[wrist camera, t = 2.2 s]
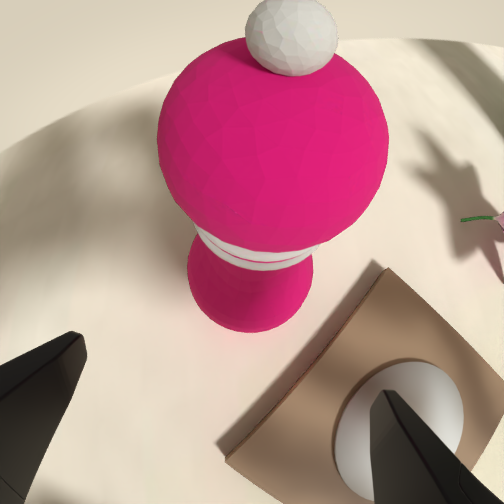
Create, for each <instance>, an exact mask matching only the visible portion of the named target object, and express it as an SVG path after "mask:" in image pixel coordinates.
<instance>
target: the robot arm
mask: <svg viewBox="0 0 504 504" xmlns="http://www.w3.org/2000/svg"><path fill="white" fill-rule="evenodd" d="M86 360H87V350H86V346H85V341H84V337H83V335H82V334H80V333H77V332H74V331H69V332H67V333H65V334H63V335H61V336H59V337H57V338H55V339H53V340H51V341H49V342H47V343H45V344H43V345H41V346H39V347H37V348H35V349H32V350H30V351H28V352H26V353H24V354H22V355H20V356H18V357H16V358H14V359H12V360H10V361H8V362H6V363H4V364H2V365H0V504H24V502H25V499H26V497H27V494H28V492H29V489H30V487H31V484H32V482H33V480H34V477H35V475H36V473H37V470H38V468H39V466H40V464H41V461H42V459H43V457H44V455H45V453H46V450H47V448H48V446H49V444H50V442H51V440H52V438H53V435H54V433H55V431H56V429H57V427H58V425H59V423H60V421H61V419H62V417H63V415H64V413H65V411H66V409H67V407H68V405H69V403H70V401H71V399H72V396H73V394H74V391H75V388H76V386H77V383H78V381H79V378H80V375H81V373H82V370H83V368H84V365H85V363H86ZM370 461H371V471H372V482H373V493H374V504H504V503H503V502H502V501H501V500H500V499H499V498H498V497H497V496H495V495H494V494H493V493H492V492H491V491H490V490H489V489H488V488H486V487H485V486H484V485H483V484H482V483H481V482H480V481H479V480H478V479H477V478H476V477H475V476H474V475H473V474H472V473H471V472H470V471H469V470H468V469H467V467H466V466H465V465H464V464H463V463H461V461H460V460H459V459H458V458H457V457H456V456H455V454H454V453H453V452H452V451H451V450H450V449H449V448H448V447H447V446H446V445H445V444H444V442H443V441H442V440H441V439H440V438H439V437H438V436H437V435H436V434H435V433H434V432H433V430H432V429H431V428H430V427H429V426H428V425H427V424H426V423H425V422H424V421H423V420H422V419H421V417H420V416H419V415H418V414H417V413H416V412H415V411H414V410H413V409H412V408H411V407H410V406H409V405H408V403H407V402H406V401H405V400H404V399H403V398H402V397H401V396H400V395H399V394H398V393H397V392H396V391H395V390H393V389H383V390H381V391H380V392H379V394H378V396H377V397H376V399H375V400H374V402H373V404H372V405H371V408H370Z"/></svg>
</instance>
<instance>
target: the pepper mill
mask: <svg viewBox="0 0 504 504" xmlns="http://www.w3.org/2000/svg"><path fill="white" fill-rule="evenodd" d="M245 36H246V37H244V38H239V39H235V40H232V41H228V42H225V43H222V44H220V45H219V46H217V47H214V48H212V49H211V50H209V51H207V52H205V53H203V54H202V55H200V56H199V57H198V58H196V59H195V60H194V61H192V62H191V63H190V64H189V65H188V66H187V67H186V68H185V69H184V70H183V71H182V72H181V74H180V75H179V76H178V77H177V78H176V79H175V81H174V83H173V85H172V86H171V88H170V90H169V92H168V94H167V96H166V98H165V100H164V102H163V106H162V109H161V113H160V117H159V122H158V133H157V144H158V154H159V164H160V167H161V170H162V173H163V175H164V178H165V181H166V183H167V186H168V189H169V190H170V192H171V194H172V196H173V198H174V200H175V202H176V203H177V204H178V205H179V206H180V207H181V208H182V209H183V211H184V212H185V213H186V214H187V215H188V216H189V217H190V218H191V219H192V220H193V223H194V226H195V228H196V230H197V232H198V234H197V235H196V237H195V239H194V241H193V244H192V246H191V249H190V253H189V256H188V264H187V270H188V280H189V285H190V289H191V292H192V295H193V297H194V299H195V301H196V303H197V304H198V306H199V307H200V309H201V310H202V311H203V312H204V313H205V314H206V315H207V316H208V317H209V318H210V319H211V320H213V321H214V322H216V323H217V324H219V325H221V326H223V327H225V328H227V329H230V330H233V331H238V332H245V333H256V332H262V331H267V330H270V329H273V328H275V327H278V326H279V325H281V324H283V323H285V322H286V321H287V320H289V319H290V318H291V317H292V316H293V315H294V314H295V313H296V312H297V311H298V310H299V308H300V307H301V305H302V303H303V302H304V300H305V298H306V297H307V295H308V292H309V290H310V287H311V283H312V277H313V260H312V253H313V252H314V251H315V250H316V249H317V248H318V246H319V245H320V244H321V243H324V242H327V241H329V240H331V239H332V238H333V237H335V236H336V235H338V234H339V233H341V232H342V231H344V230H345V229H347V228H348V227H349V226H351V225H352V224H353V223H354V222H355V221H356V220H357V219H358V218H359V217H360V216H361V215H362V213H363V212H364V211H365V210H366V208H367V207H368V206H369V204H370V202H371V201H372V199H373V197H374V196H375V194H376V192H377V190H378V189H379V187H380V184H381V181H382V178H383V175H384V171H385V168H386V164H387V156H388V145H389V133H388V126H387V122H386V119H385V116H384V113H383V110H382V107H381V104H380V101H379V99H378V97H377V95H376V94H375V92H374V91H373V89H372V87H371V86H370V84H369V83H368V81H367V80H366V79H365V78H364V77H363V76H362V75H361V74H360V73H359V72H358V71H357V70H356V69H355V68H354V67H353V66H352V65H351V64H349V63H348V62H347V61H346V60H344V59H343V58H342V57H340V56H338V55H337V54H335V53H334V52H335V50H336V48H337V46H338V32H337V26H336V23H335V20H334V19H333V17H332V15H331V13H330V12H329V11H328V10H327V9H326V7H325V6H323V5H322V4H320V3H319V2H317V1H316V0H264V1H263V2H261V3H259V5H258V6H257V7H256V8H255V10H254V11H253V12H252V13H251V14H250V15H249V18H248V20H247V24H246V27H245Z"/></svg>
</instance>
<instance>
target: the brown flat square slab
mask: <svg viewBox="0 0 504 504" xmlns="http://www.w3.org/2000/svg"><path fill="white" fill-rule="evenodd" d="M383 389H393V390H395V391H396V392H397V393H398V394H399V395H400V396H401V397H402V398H403V399H404V400H405V401H406V402H407V403H408V405H409V406H410V407H411V408H412V409H413V410H414V411H415V412H416V413H417V414H418V415H419V416H420V417H421V419H422V420H423V421H424V422H425V423H426V424H427V425H428V426H429V427H430V428H431V429H432V430H433V432H434V433H435V434H436V435H437V436H438V437H439V438H440V439H441V440H442V441H443V442H444V444H445V445H446V446H447V447H448V448H449V449H450V450H451V451H452V452H453V453H454V454H455V456H456V457H457V458H458V459H459V460H460V461H461V463H463V464H464V465H465V466H466V467H467V469H468V470H469V471H470V472H471V470H472V469H473V467H474V466H475V464H476V463H477V461H478V459H479V458H480V456H481V454H482V453H483V451H484V449H485V448H486V446H487V444H488V443H489V441H490V439H491V437H492V435H493V434H494V432H495V430H496V428H497V426H498V424H499V422H500V420H501V418H502V416H503V414H504V381H503V379H502V378H501V377H500V376H499V375H498V374H497V373H496V372H495V371H494V370H493V369H492V367H491V366H490V365H489V364H488V363H487V362H486V361H485V360H484V359H483V358H482V357H481V356H480V355H479V354H478V353H477V352H476V351H475V350H474V349H473V348H472V346H471V345H470V344H469V343H468V342H467V341H466V340H465V339H464V338H463V337H462V336H461V335H460V334H459V333H458V332H457V331H456V330H455V329H454V328H453V327H452V326H451V325H450V324H449V323H448V322H447V321H446V320H445V319H443V318H442V317H441V316H440V315H439V314H438V313H437V312H436V311H435V310H434V309H433V308H432V307H431V306H430V305H429V304H428V303H427V302H426V301H425V300H424V299H423V298H421V297H420V296H419V295H418V294H417V293H416V292H415V291H414V290H413V289H412V288H411V287H410V286H409V285H407V284H406V283H405V282H404V281H403V280H402V279H401V278H400V277H399V276H398V275H396V274H395V273H394V272H393V271H392V270H391V269H390V268H389V267H388V268H387V269H385V270H384V271H383V272H382V273H381V274H380V275H379V277H378V278H377V280H376V281H375V283H374V284H373V285H372V287H371V288H370V290H369V291H368V293H367V294H366V295H365V297H364V298H363V299H362V301H361V302H360V304H359V305H358V306H357V308H356V309H355V310H354V312H353V313H352V314H351V316H350V317H349V318H348V320H347V321H346V322H345V324H344V325H343V326H342V327H341V329H340V330H339V331H338V333H337V334H336V335H335V336H334V338H333V339H332V340H331V342H330V343H329V344H328V345H327V347H326V348H325V349H324V350H323V351H322V353H321V354H320V355H319V356H318V358H317V359H316V360H315V361H314V362H313V364H312V365H311V366H310V367H309V368H308V370H307V371H306V372H305V373H304V374H303V375H302V377H301V378H300V379H299V380H298V381H297V382H296V384H295V385H294V386H293V387H292V388H291V389H290V390H289V392H288V393H287V394H286V395H285V396H284V397H283V398H282V399H281V401H280V402H279V403H278V404H277V405H276V406H275V407H274V408H273V409H272V410H271V411H270V413H269V414H268V415H267V416H266V417H265V418H264V419H263V420H262V421H261V422H260V423H259V424H258V425H257V426H256V427H255V428H254V429H253V430H252V431H251V432H250V433H249V434H248V436H247V437H246V438H245V439H244V440H243V441H242V442H241V443H240V444H239V445H238V446H237V447H236V448H235V449H233V450H232V451H231V452H230V453H229V454H228V455H227V456H226V457H225V463H227V464H228V465H229V466H231V467H232V468H233V469H235V470H236V471H237V472H239V473H240V474H241V475H243V476H244V477H245V478H247V479H248V480H249V481H251V482H252V483H254V484H255V485H256V486H258V487H259V488H261V489H262V490H264V491H265V492H267V493H268V494H270V495H271V496H273V497H274V498H276V499H277V500H279V501H280V502H282V503H283V504H374V493H373V482H372V471H371V461H370V408H371V405H372V404H373V402H374V400H375V399H376V397H377V396H378V394H379V392H380V391H381V390H383Z"/></svg>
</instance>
